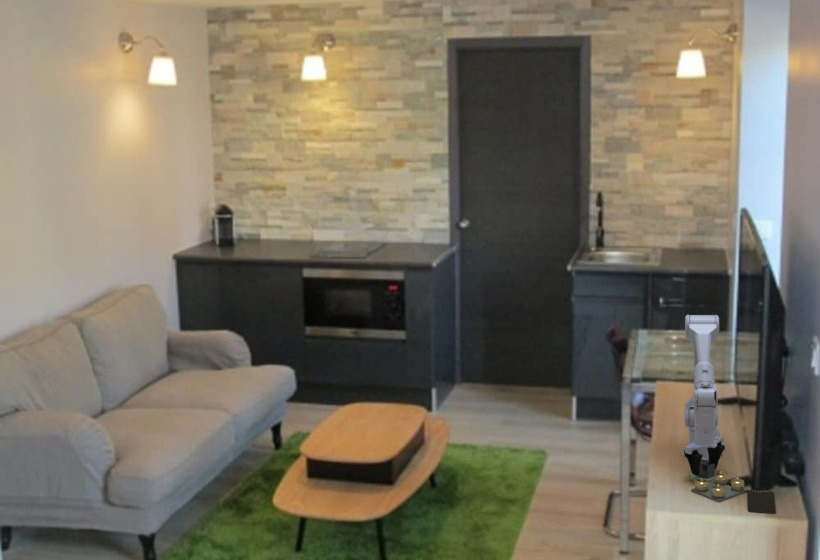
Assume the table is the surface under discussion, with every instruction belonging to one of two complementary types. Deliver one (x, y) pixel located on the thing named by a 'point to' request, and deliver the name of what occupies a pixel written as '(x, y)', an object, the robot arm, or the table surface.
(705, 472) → the green plate with block
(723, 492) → the chassis
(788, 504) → the table surface
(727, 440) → the table surface
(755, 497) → the smartphone
